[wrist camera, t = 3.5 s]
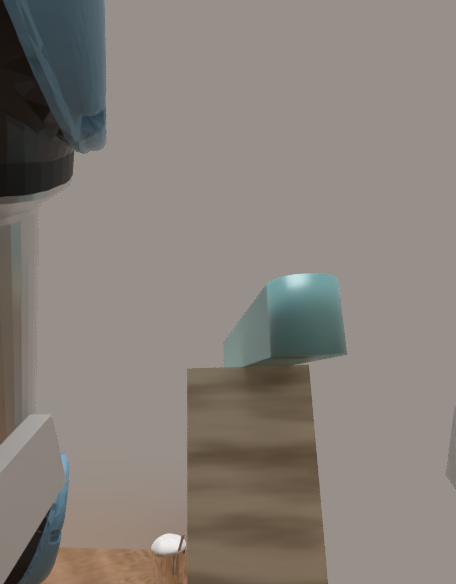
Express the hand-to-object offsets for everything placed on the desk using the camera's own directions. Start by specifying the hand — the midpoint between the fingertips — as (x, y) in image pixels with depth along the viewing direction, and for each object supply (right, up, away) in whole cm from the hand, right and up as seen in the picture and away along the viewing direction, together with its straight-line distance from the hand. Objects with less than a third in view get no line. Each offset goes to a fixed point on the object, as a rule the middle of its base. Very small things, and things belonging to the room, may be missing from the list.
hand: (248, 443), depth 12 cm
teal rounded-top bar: (+2, -2, +21) cm, 21 cm away
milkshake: (-8, -37, +32) cm, 50 cm away
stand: (+2, -32, +18) cm, 37 cm away
